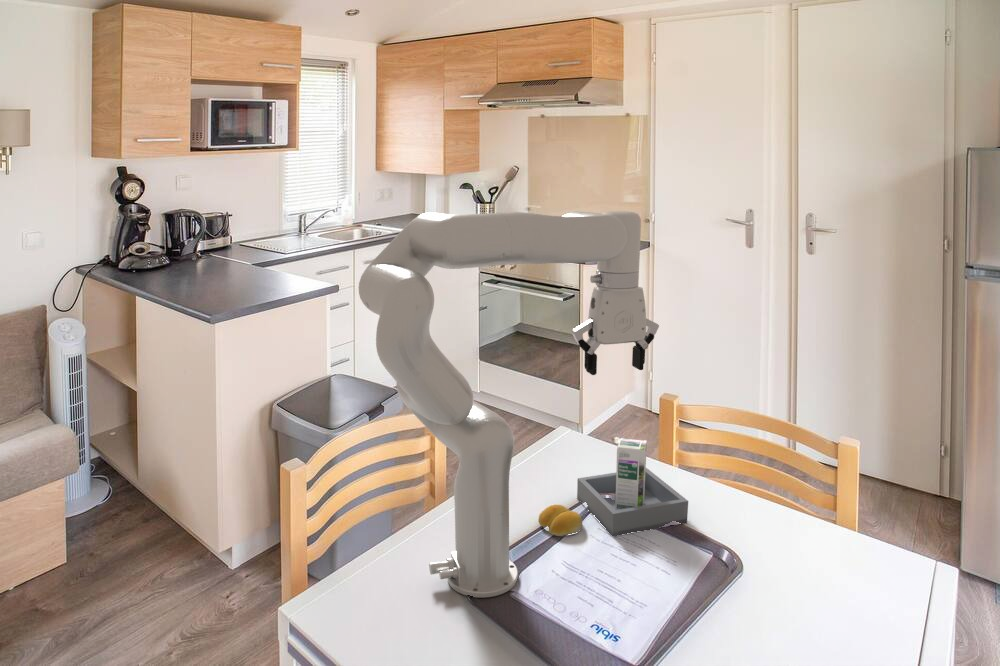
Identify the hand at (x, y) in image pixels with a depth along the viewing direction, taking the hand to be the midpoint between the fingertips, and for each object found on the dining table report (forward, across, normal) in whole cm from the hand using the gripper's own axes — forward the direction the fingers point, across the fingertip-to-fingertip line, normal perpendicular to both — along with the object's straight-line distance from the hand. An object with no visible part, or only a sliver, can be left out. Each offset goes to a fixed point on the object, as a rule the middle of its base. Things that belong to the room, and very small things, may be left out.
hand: (614, 370), depth 133 cm
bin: (+34, +9, +8) cm, 36 cm away
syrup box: (+34, +9, +8) cm, 36 cm away
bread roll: (+35, -8, +7) cm, 36 cm away
